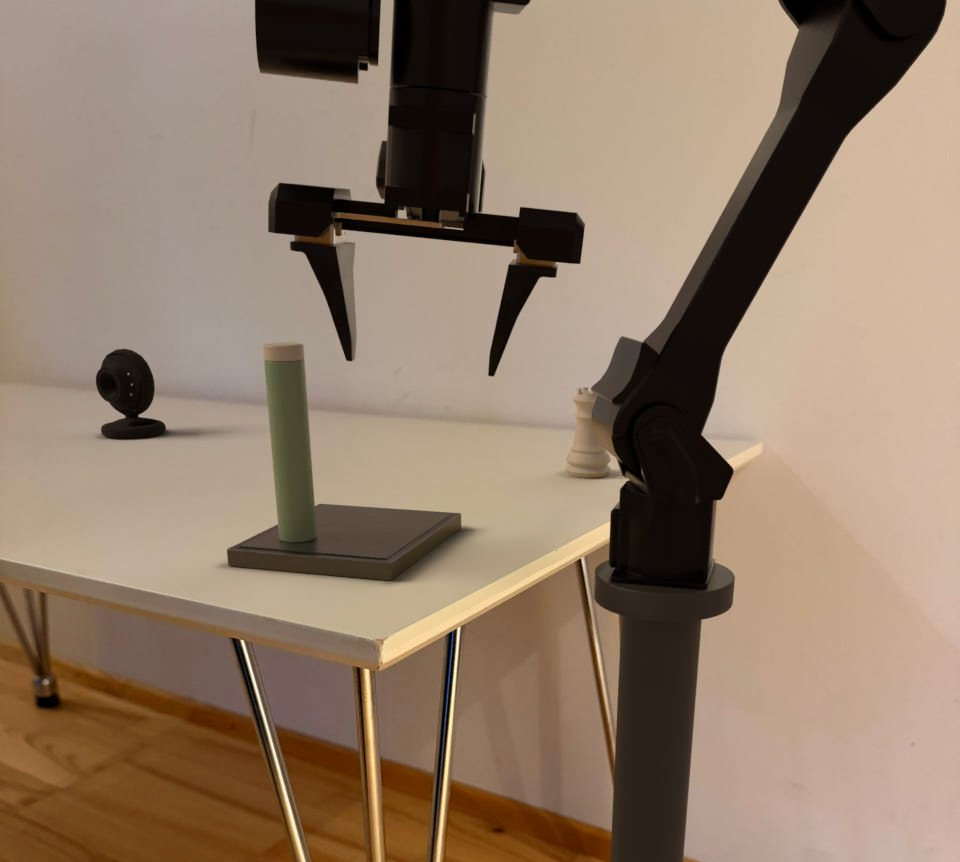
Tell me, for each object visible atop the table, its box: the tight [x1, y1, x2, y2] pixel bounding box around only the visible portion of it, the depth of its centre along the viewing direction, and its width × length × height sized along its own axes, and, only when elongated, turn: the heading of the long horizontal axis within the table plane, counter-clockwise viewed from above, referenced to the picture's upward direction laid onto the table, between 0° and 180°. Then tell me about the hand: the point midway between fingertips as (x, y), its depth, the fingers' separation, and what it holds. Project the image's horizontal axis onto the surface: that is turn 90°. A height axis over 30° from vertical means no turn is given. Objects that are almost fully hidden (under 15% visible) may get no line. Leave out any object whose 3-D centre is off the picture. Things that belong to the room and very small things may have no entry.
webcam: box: [95, 348, 167, 440], centre depth 118 cm, size 8×8×10 cm
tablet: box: [226, 503, 462, 581], centre depth 71 cm, size 12×14×1 cm
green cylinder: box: [262, 342, 317, 543], centre depth 66 cm, size 3×3×13 cm
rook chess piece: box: [564, 386, 612, 479], centre depth 93 cm, size 4×4×8 cm
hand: (420, 367), depth 63 cm, fingers open, 9 cm apart
